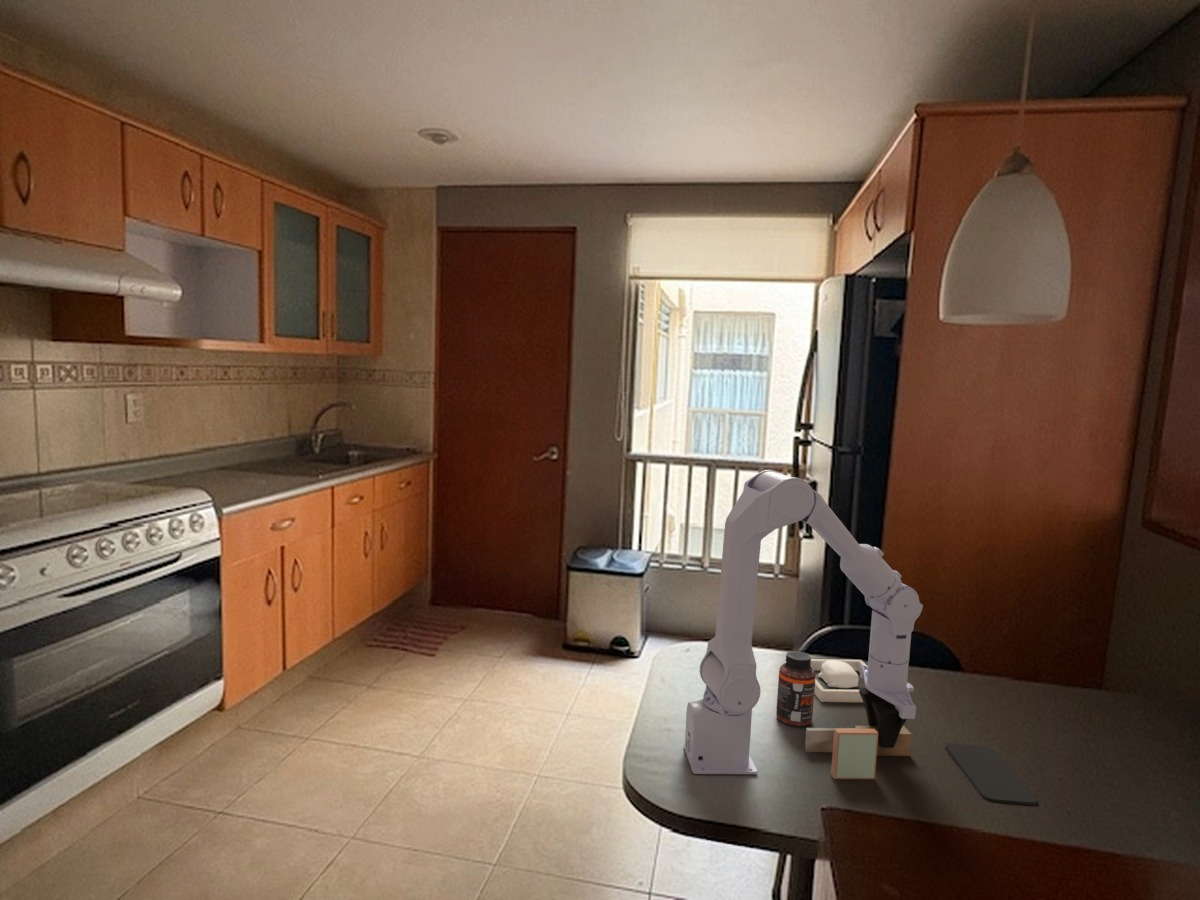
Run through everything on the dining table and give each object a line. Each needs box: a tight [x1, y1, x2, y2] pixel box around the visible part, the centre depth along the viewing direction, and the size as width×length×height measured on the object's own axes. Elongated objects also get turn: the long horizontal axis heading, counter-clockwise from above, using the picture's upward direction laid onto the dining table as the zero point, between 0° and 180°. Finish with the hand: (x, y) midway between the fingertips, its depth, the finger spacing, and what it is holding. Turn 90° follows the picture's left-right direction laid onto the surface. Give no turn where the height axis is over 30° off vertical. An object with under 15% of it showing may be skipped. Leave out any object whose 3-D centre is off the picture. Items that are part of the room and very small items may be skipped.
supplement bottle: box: [776, 650, 817, 728], centre depth 117 cm, size 6×6×11 cm
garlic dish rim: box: [810, 658, 868, 703], centre depth 132 cm, size 14×15×2 cm
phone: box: [945, 742, 1038, 806], centre depth 103 cm, size 7×1×15 cm
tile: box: [830, 727, 878, 780], centre depth 101 cm, size 6×1×7 cm, turn 93°
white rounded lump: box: [817, 659, 860, 689], centre depth 134 cm, size 8×7×4 cm
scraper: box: [804, 725, 913, 757], centre depth 108 cm, size 16×2×4 cm, turn 93°
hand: (881, 741), depth 108 cm, fingers closed on scraper, 2 cm apart
